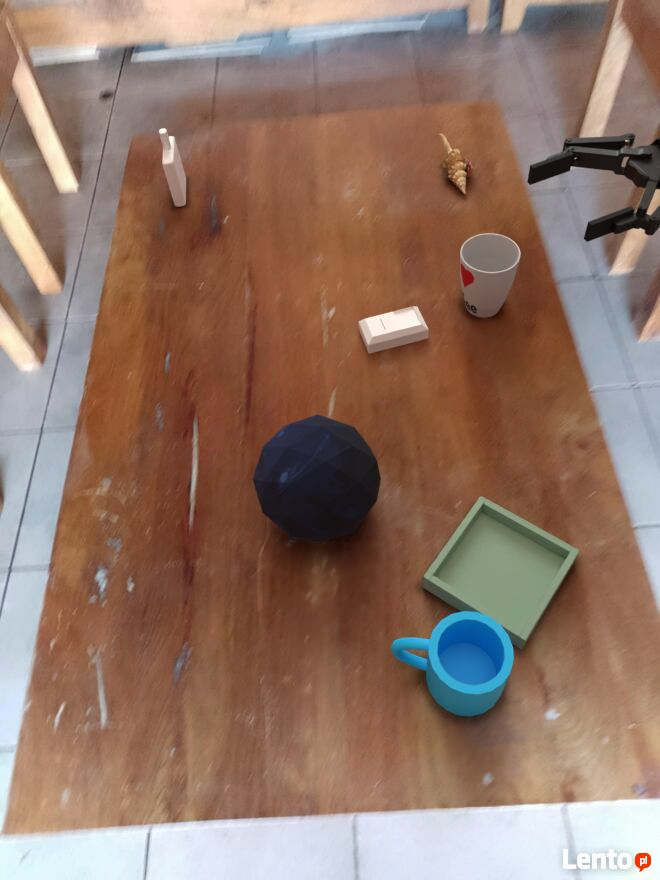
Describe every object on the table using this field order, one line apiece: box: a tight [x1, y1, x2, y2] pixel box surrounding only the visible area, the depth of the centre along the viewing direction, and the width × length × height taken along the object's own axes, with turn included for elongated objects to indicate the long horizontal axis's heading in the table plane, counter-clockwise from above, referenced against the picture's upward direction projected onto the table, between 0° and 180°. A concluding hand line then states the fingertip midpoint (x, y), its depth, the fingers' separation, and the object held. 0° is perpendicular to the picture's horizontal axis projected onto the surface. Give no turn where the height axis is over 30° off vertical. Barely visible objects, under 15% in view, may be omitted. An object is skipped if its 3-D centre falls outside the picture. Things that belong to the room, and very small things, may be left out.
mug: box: [390, 611, 515, 717], centre depth 73 cm, size 12×8×8 cm
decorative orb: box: [252, 414, 382, 544], centre depth 83 cm, size 14×15×15 cm
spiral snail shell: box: [438, 133, 476, 195], centre depth 123 cm, size 14×5×4 cm, turn 30°
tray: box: [422, 495, 581, 651], centre depth 81 cm, size 13×13×3 cm
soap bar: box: [357, 305, 430, 355], centre depth 103 cm, size 5×9×3 cm, turn 105°
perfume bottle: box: [158, 127, 187, 208], centre depth 123 cm, size 8×2×12 cm, turn 6°
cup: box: [459, 232, 522, 318], centre depth 102 cm, size 8×8×10 cm
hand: (557, 202), depth 96 cm, fingers open, 13 cm apart
